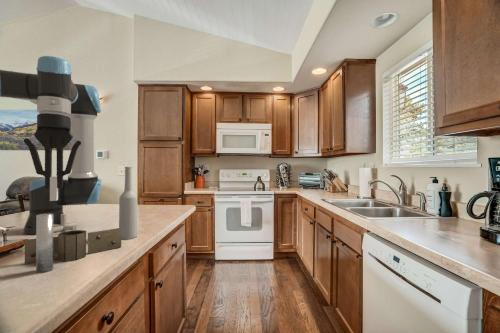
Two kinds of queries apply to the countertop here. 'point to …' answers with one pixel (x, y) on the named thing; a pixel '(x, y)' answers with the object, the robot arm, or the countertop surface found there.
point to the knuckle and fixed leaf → (61, 247)
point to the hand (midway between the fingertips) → (54, 200)
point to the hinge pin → (44, 243)
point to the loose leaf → (104, 240)
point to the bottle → (128, 208)
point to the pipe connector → (64, 225)
